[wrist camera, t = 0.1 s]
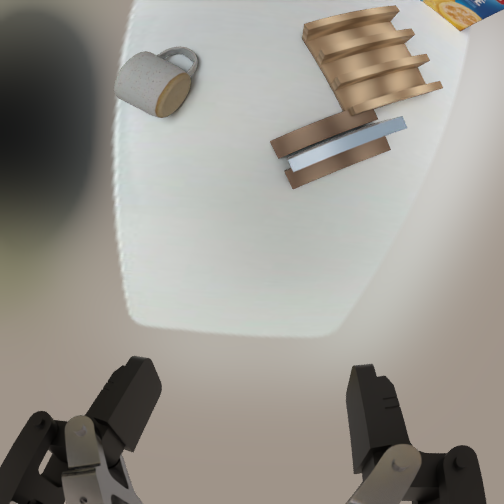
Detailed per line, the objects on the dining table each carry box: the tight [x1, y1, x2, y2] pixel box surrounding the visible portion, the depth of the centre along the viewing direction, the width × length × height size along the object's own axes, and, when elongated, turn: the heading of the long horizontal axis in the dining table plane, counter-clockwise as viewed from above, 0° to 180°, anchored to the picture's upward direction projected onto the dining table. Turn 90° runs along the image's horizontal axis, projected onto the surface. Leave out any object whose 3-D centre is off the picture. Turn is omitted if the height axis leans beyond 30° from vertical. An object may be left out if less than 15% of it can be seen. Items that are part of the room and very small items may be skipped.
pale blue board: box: [287, 116, 407, 172], centre depth 27 cm, size 12×1×12 cm, turn 116°
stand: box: [270, 109, 391, 189], centre depth 31 cm, size 14×7×2 cm, turn 116°
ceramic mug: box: [114, 47, 198, 118], centre depth 28 cm, size 11×8×8 cm
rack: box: [302, 5, 443, 116], centre depth 25 cm, size 14×13×5 cm
